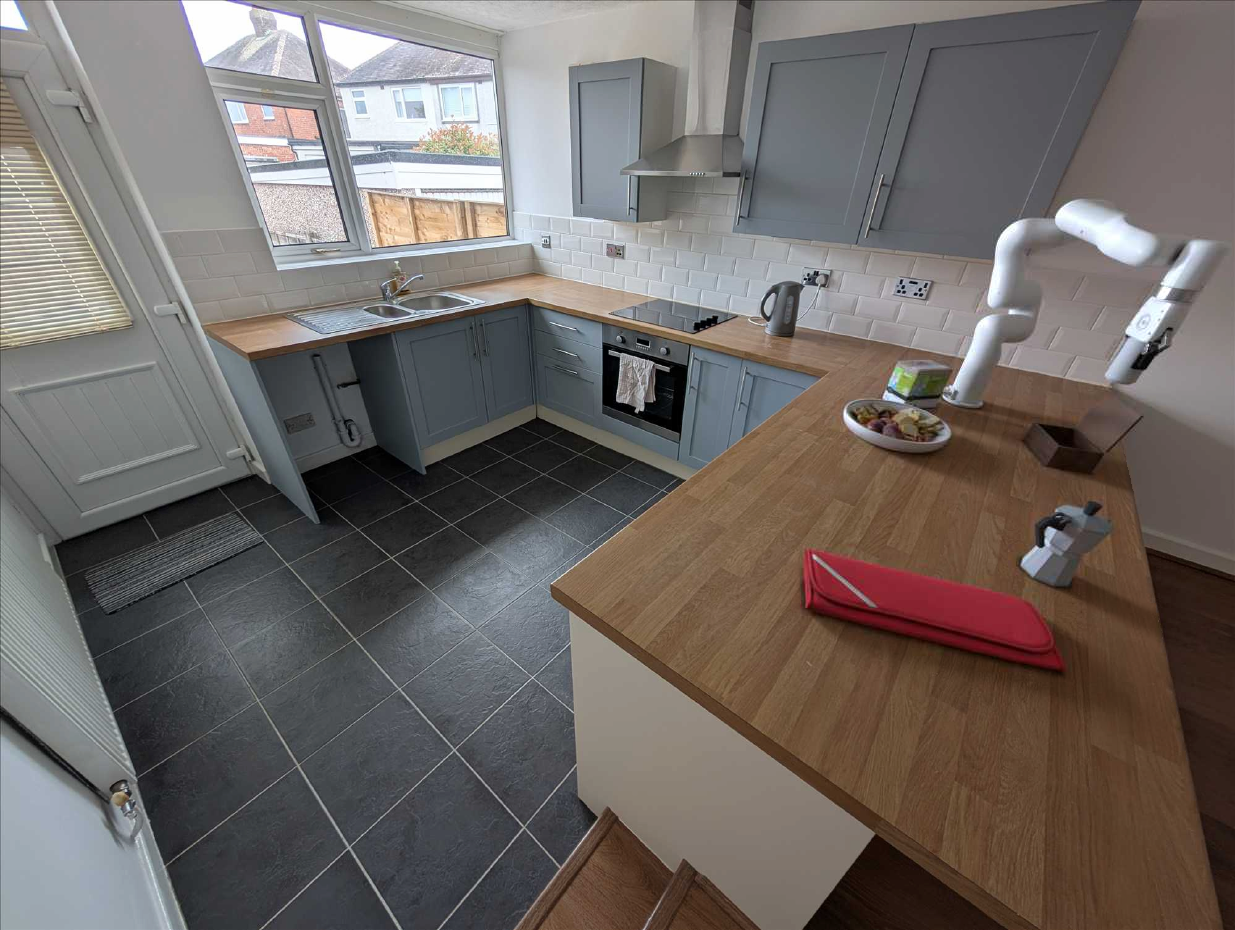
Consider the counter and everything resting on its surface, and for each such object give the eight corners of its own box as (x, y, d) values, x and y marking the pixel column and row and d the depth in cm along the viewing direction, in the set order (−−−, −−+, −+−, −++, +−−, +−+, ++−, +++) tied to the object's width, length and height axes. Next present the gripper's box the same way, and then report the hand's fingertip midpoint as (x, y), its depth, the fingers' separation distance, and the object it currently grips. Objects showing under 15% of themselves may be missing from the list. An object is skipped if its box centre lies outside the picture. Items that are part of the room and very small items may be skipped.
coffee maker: (1056, 557, 103) (1106, 490, 94) (1091, 588, 96) (1149, 519, 86) (991, 556, 103) (1034, 489, 93) (1021, 587, 95) (1072, 517, 86)
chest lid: (1141, 415, 124) (1144, 416, 124) (1106, 391, 137) (1109, 392, 137) (1104, 452, 131) (1107, 453, 131) (1075, 426, 144) (1077, 427, 144)
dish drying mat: (1062, 677, 78) (1075, 663, 76) (805, 613, 87) (810, 599, 85) (1022, 605, 91) (1033, 592, 89) (801, 556, 100) (806, 543, 98)
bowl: (847, 404, 167) (855, 383, 163) (944, 428, 155) (955, 406, 150) (832, 438, 145) (840, 415, 141) (944, 469, 133) (956, 445, 128)
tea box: (902, 411, 164) (918, 370, 156) (881, 398, 172) (896, 360, 165) (936, 407, 168) (954, 368, 160) (914, 396, 176) (930, 358, 168)
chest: (1046, 466, 137) (1058, 446, 134) (1022, 440, 150) (1033, 421, 147) (1091, 473, 135) (1105, 454, 131) (1063, 446, 148) (1075, 428, 144)
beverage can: (1102, 374, 132) (1129, 332, 126) (1133, 381, 129) (1162, 338, 123) (1103, 380, 128) (1131, 337, 122) (1134, 387, 125) (1165, 343, 118)
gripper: (1136, 286, 124) (1095, 352, 134) (1180, 301, 110) (1131, 373, 120) (1171, 289, 122) (1127, 356, 132) (1220, 305, 108) (1167, 378, 118)
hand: (1129, 364), depth 126 cm, fingers closed on beverage can, 6 cm apart
